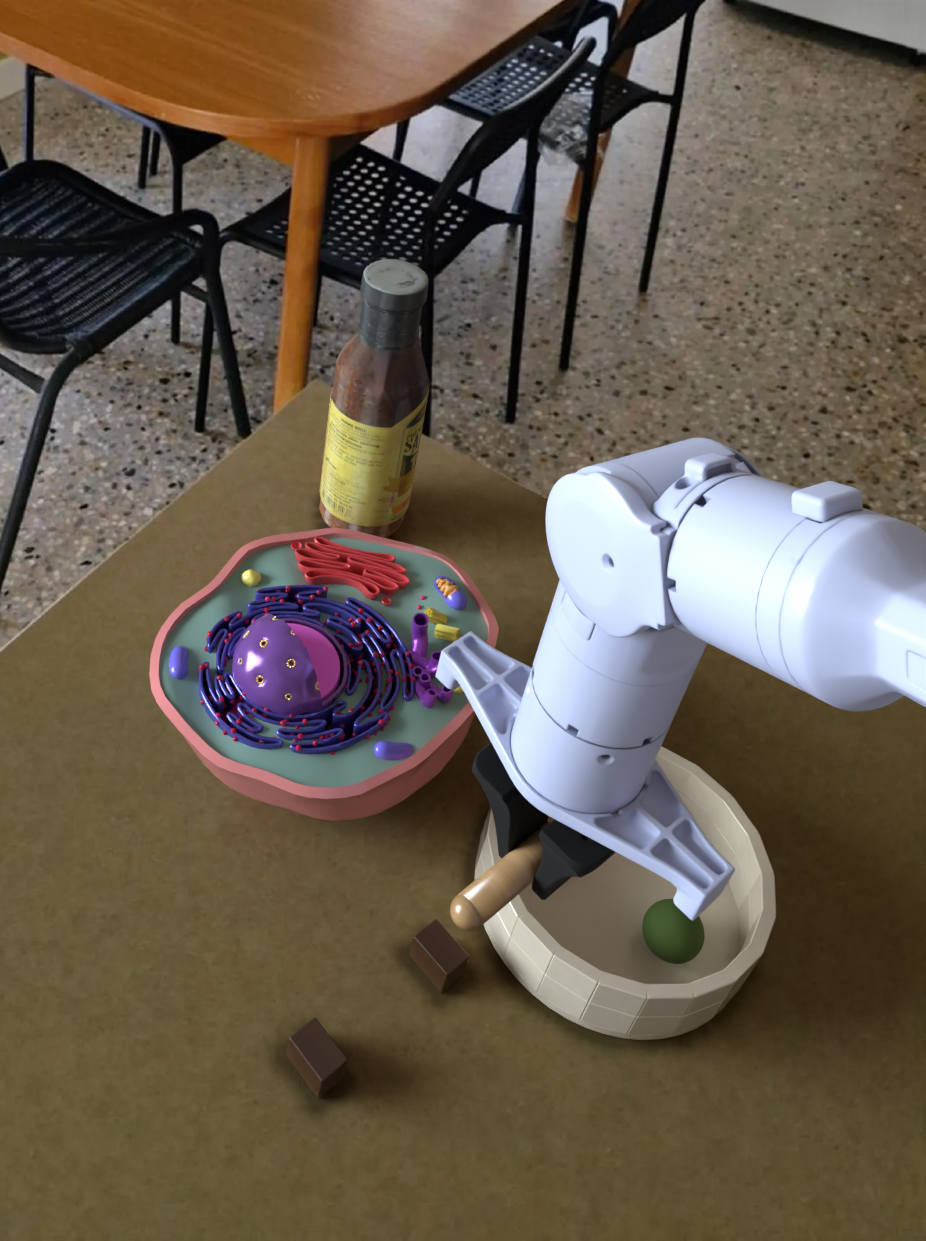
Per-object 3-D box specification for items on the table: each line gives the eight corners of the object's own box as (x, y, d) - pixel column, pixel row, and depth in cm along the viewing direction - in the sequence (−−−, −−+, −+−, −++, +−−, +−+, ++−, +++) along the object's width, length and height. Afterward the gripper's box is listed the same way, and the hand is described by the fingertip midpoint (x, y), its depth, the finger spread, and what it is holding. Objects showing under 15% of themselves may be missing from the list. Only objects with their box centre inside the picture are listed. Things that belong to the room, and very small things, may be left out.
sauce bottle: (408, 549, 85) (455, 315, 72) (317, 544, 85) (348, 308, 72) (402, 482, 90) (444, 252, 78) (315, 477, 90) (344, 246, 77)
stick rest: (430, 937, 64) (436, 918, 63) (463, 975, 63) (470, 956, 61) (285, 1056, 59) (288, 1037, 58) (317, 1100, 58) (322, 1082, 57)
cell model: (542, 768, 72) (586, 644, 65) (247, 940, 63) (261, 817, 56) (372, 573, 83) (394, 448, 76) (99, 697, 74) (95, 568, 67)
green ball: (706, 951, 64) (724, 922, 62) (670, 987, 62) (687, 958, 60) (660, 906, 66) (675, 876, 64) (623, 939, 64) (638, 910, 62)
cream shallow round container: (803, 926, 66) (832, 882, 63) (630, 1105, 59) (655, 1064, 56) (593, 736, 74) (611, 689, 71) (418, 871, 67) (431, 825, 64)
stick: (598, 786, 62) (605, 768, 61) (623, 810, 61) (632, 792, 60) (440, 916, 56) (445, 898, 55) (465, 945, 55) (471, 927, 54)
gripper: (817, 764, 48) (714, 937, 56) (534, 536, 56) (481, 716, 65) (707, 868, 44) (614, 1036, 53) (422, 607, 53) (382, 789, 61)
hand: (534, 866), depth 58 cm, fingers closed on stick, 1 cm apart
